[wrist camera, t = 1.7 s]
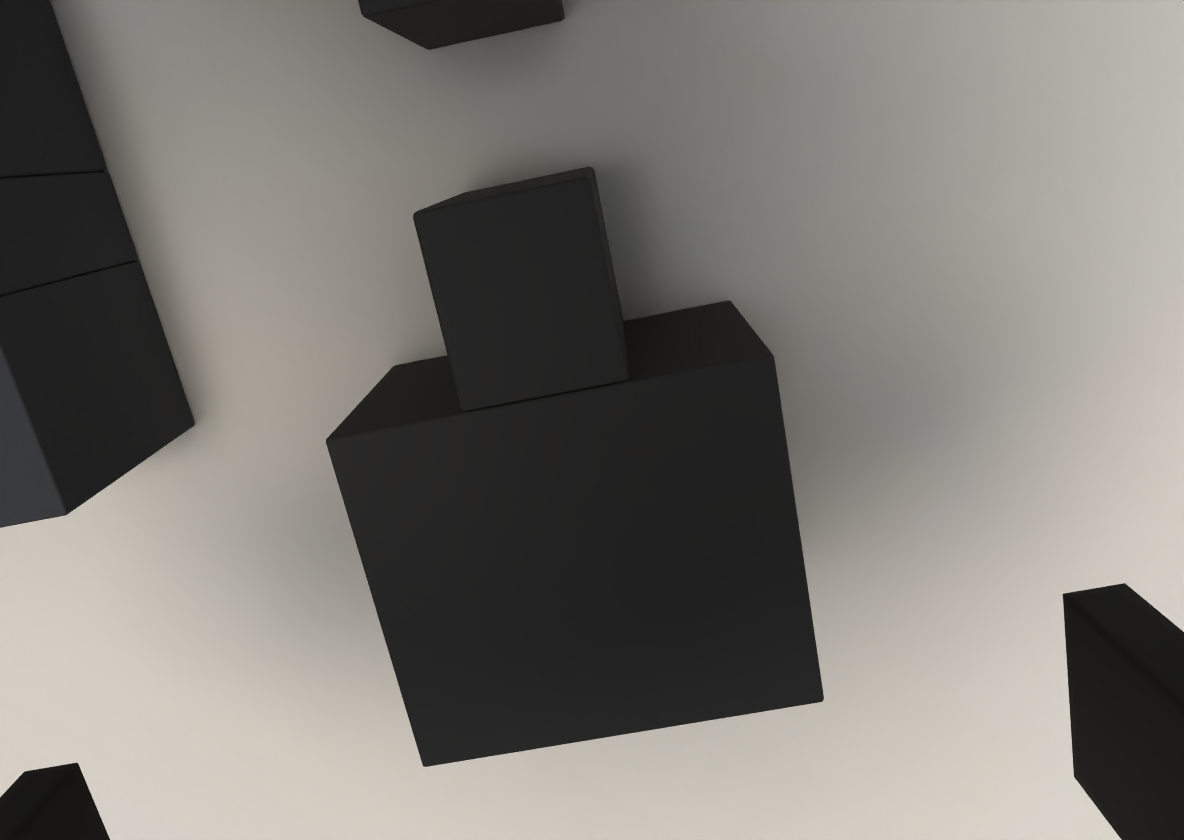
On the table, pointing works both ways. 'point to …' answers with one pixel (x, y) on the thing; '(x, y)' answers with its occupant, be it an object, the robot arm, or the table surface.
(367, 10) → the pad
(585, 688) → the pad
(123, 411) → the pad
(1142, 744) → the robot arm
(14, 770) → the table surface
